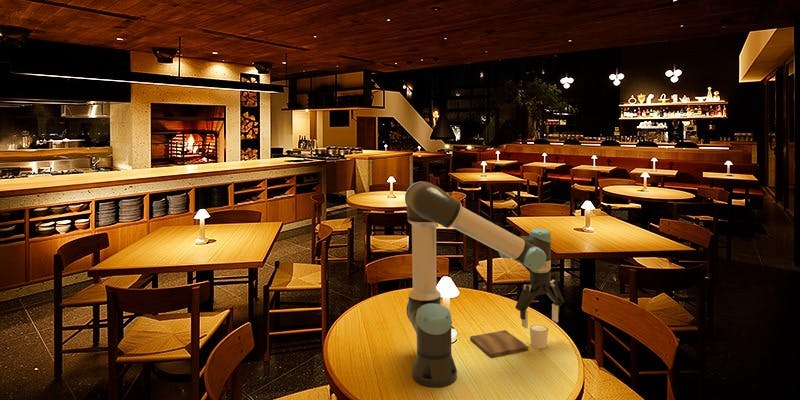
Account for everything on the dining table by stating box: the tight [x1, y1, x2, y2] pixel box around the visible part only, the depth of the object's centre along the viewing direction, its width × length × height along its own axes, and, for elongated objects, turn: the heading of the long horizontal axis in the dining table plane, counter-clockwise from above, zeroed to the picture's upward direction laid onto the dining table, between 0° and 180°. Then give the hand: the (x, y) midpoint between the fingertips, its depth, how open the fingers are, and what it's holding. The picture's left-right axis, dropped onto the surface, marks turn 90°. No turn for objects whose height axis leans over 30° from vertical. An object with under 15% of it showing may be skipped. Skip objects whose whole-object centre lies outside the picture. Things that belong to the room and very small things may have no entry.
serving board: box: [469, 329, 529, 359], centre depth 180 cm, size 16×16×2 cm
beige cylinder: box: [529, 324, 549, 350], centre depth 178 cm, size 7×7×7 cm
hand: (540, 324), depth 178 cm, fingers open, 13 cm apart
